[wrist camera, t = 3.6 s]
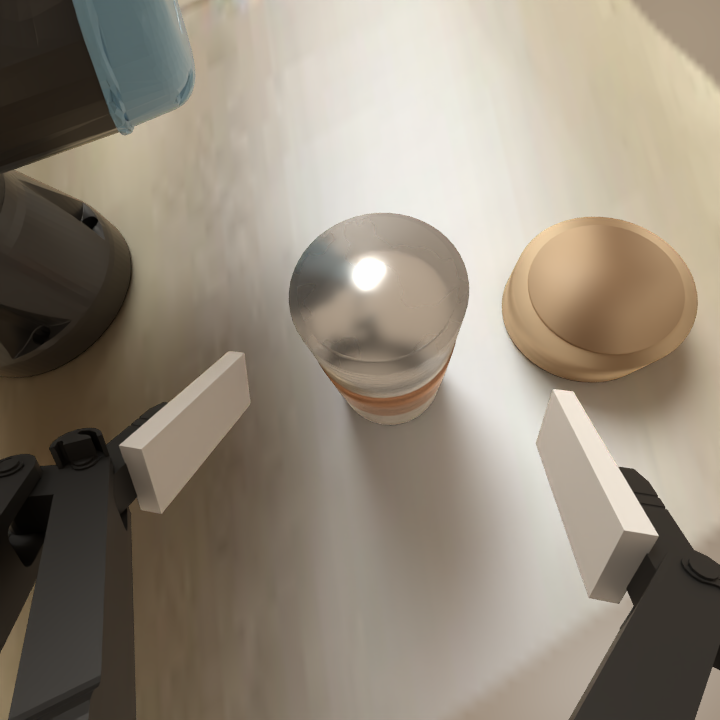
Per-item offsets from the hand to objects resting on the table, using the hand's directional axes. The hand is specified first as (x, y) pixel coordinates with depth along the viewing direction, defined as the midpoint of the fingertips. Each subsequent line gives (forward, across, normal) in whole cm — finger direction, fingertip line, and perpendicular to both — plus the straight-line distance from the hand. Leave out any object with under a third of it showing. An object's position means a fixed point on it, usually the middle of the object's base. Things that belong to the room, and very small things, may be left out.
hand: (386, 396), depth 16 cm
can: (+8, -1, -4) cm, 9 cm away
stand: (+12, +11, +1) cm, 17 cm away
